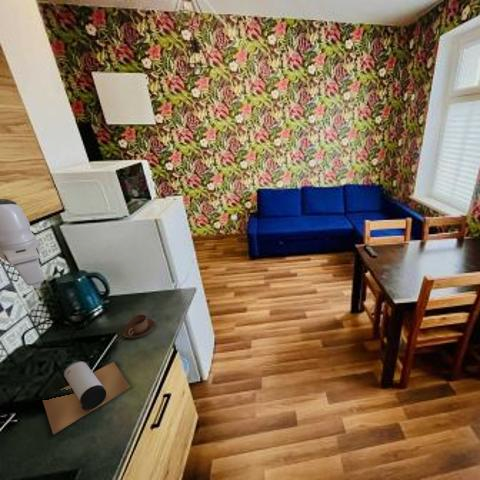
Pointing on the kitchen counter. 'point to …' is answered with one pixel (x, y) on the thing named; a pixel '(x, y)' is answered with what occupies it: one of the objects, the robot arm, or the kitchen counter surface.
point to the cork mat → (70, 407)
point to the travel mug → (85, 385)
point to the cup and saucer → (138, 326)
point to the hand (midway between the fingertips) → (37, 286)
